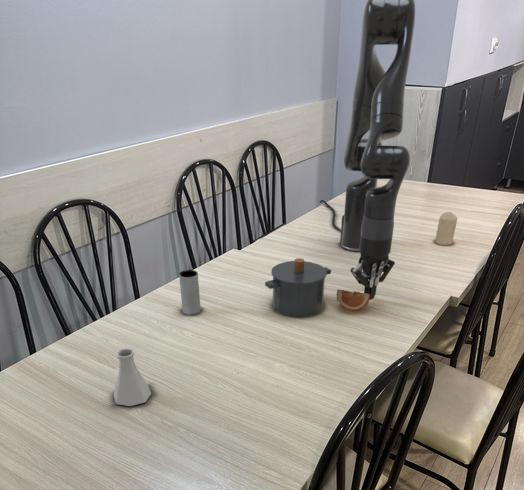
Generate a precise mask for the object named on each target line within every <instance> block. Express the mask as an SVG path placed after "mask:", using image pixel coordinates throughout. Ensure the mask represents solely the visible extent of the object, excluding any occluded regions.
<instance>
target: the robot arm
mask: <svg viewBox="0 0 524 490" xmlns="http://www.w3.org/2000/svg"><path fill="white" fill-rule="evenodd" d="M415 23H416V2H415V0H367V1H366V4H365V6H364V10H363V15H362V25H361V38H360V47H359V48H360V49H359V50H360V51H359V61H358V68H357V73H356V78H355V85H354V90H353V96H352V106H351V117H350V124H349V128H348V129H349V130H348V135H347V139H346V143H345V148H344V154H343V162H344V164H343V165H344V167H345V169H346V170H347V171H349V172H361V175H362V177H360V178H358V179H355V180H352V181H350V182H348V183H347V184H346V190H345V199H344V211H343V212H344V213H343V215H342V216H341V226H340V228H339V227H338V225H336V223H335V219H336V210H335V209H334V208H333V207H332V206H331V205H330V204H329V203H327V201H325V200H324V199H321V200H320V201H319V203H320V204H321V203H323V204H324V205H325V206H326V207H327V208H328V209H330V210H331V211H332V222H331V224H332V227H334V229H335V230H336V231H338V232H340V237H339V238H340V239H339V244H340V245H341V248H343V249H345V250H346V251H347V250H348V251H352V252H359V253H360V254H359V255H360V257H359V259H358V264H357V265H356V266H355V267H351V268H350V270H349V271H350V273H351V274H352V276H353V277H354V279H355V280H356V282H357V283H358V284H359V285H361V286H363V287H364V288H363V293H368V294H370V300H369V301H371V300H373V299H375V297H376V295H377V289H378V286H379V283H384V281H385V280H386V278H387V276H388V275H389V274H390V272H391V270H392V269H393V267H394V266H395V264H396V261H394V260H393V259H390V258H389V254H390V253H391V250H392V242H393V235H394V228H395V213H396V205H397V204H396V203H397V198H398V195H399V192H400V189H401V187H402V184H403V182H404V179H405V177H406V175H407V173H408V170H409V168H410V164H411V155H410V151H409V150H408V149H407V147H406V146H404V145H383V144H382V142H383V141H386V140H390V139H393V138H394V139H395V138H396V137H398V136H400V134H402V131H403V126H404V107H405V106H404V105H405V89H406V82H407V77H408V73H409V65H410V59H411V52H412V46H413V39H414V37H413V36H414V31H415ZM391 45H392V46H396V51H395V54H394V57H393V60H392V61H391V63H390V65H389V67H388V68H387V69H386V70H385V69H384V67H383V65H382V64H381V62H380V60H379V57H378V55H377V52H376V46H391ZM368 132H369V134H368V136H367V137H368V138H363V137H364V136H365V135H366V134H367V133H368ZM378 180H388V181H387V183H386V184H384V185H381V186H378Z"/></svg>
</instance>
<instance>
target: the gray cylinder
mask: <svg viewBox="0 0 524 490" xmlns="http://www.w3.org/2000/svg"><path fill="white" fill-rule="evenodd" d="M178 276H179V289H180V298H181V299H180V300H181V309H182V313H183V314H185V315H188V316H189V315H190V316H193V315H197V314H199V313H200V312H201V296H200V284H199V273H198V271H196V270H193V269H185V270H181V271H180V272H179V273H178Z"/></svg>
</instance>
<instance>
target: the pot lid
mask: <svg viewBox="0 0 524 490" xmlns="http://www.w3.org/2000/svg"><path fill="white" fill-rule="evenodd" d="M270 271H271V273H270V274H271V276H272V278H273V277H274V278H275V279H276V280H278V281H280V282H283V283H287V284H294V285H307V284H314V283H317V282H320V281H322V280H323V279H325V280H326V277H327V276H328V275H327V271H326V269H325V268H324V266H322V265H320V264H318V263H317V262H316V263H315V262H311V261H305V259H304V258H301V257H300V258H299V257H298V258H294V260H290V261H284V262H280V263H278V264H276V265H275V266H273V267H272V269H271V270H270Z"/></svg>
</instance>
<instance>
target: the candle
mask: <svg viewBox="0 0 524 490" xmlns="http://www.w3.org/2000/svg"><path fill="white" fill-rule="evenodd" d="M457 222H458V216H456V214H454V213H453V212H452V211H446V212H443V213H442V214H441V215H440V216H439V219H438V223H437V229H436V235H435V243H436V244H437V245H441V246H450V245H452V244H453V242H454V236H455V232H456V227H457Z"/></svg>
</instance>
